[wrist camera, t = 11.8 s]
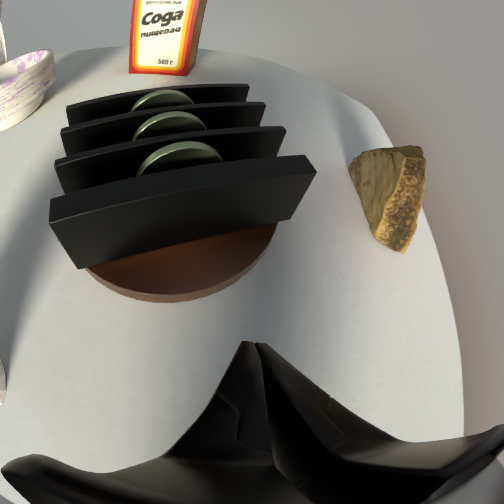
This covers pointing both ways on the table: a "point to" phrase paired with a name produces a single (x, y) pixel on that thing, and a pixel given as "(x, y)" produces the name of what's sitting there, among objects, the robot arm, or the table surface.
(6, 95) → the paper bowls
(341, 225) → the table surface
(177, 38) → the baking soda box
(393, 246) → the rock
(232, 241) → the base
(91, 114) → the dish rack
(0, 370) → the white faceted cup
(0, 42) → the skyscraper
